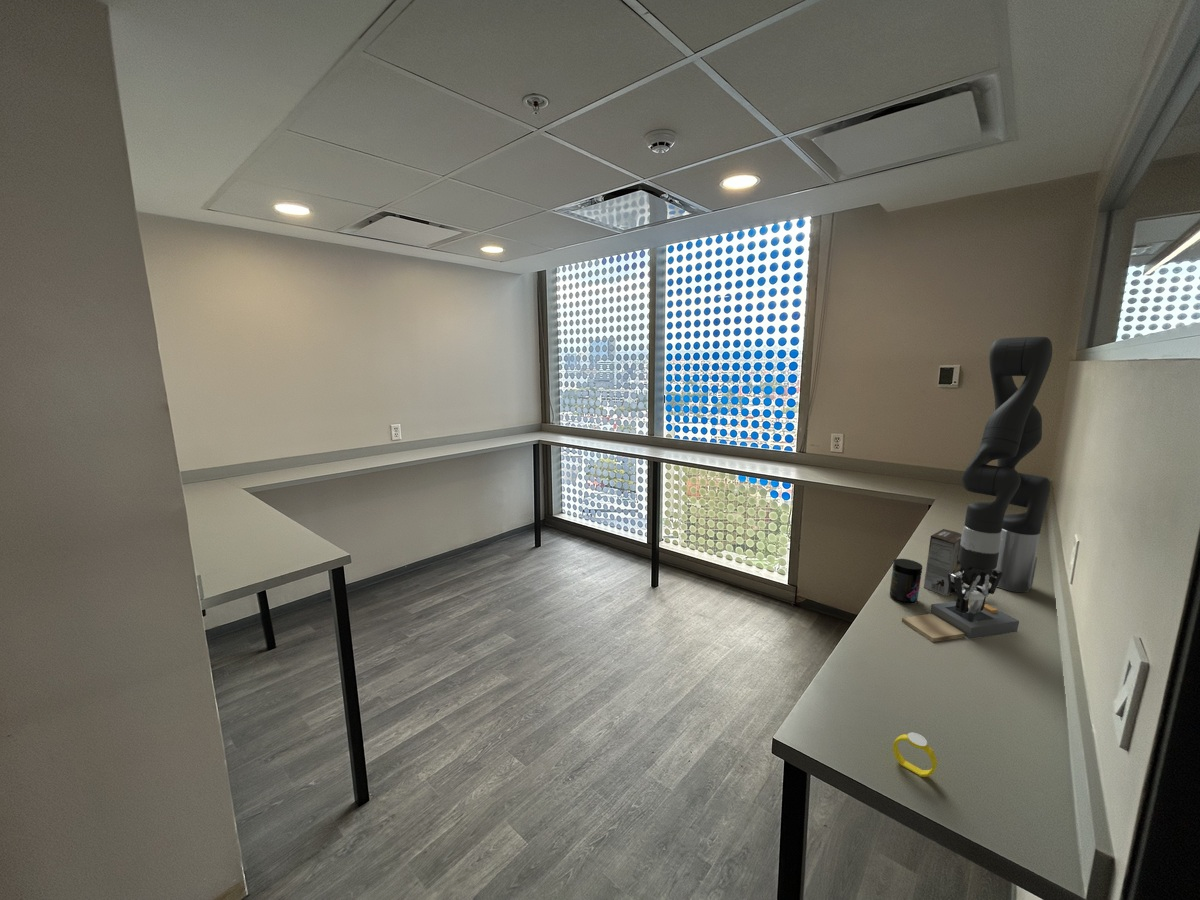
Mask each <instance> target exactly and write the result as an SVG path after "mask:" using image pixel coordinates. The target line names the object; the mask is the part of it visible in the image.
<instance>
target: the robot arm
mask: <svg viewBox="0 0 1200 900" xmlns="http://www.w3.org/2000/svg"><path fill="white" fill-rule="evenodd" d="M988 356H989V359H988V360H989V361H988V362H989V371H990V377H991V383H992V389H993V397H994V411H993V412H992V413H991V415H990V416H989V417H988V419H987V421H986V423H985V426H984V429H983V433H982V437H981V441H980V444H979V447H978V449H977V451H976V453H975V454H974V456H973V458H972V459H971V461H970V462H969V463H968V465H967V466H966V468H965V469H964V471H963V473H962V475H961V483H962V484H961V485H962V486H963V489H965V490H966V491H967V492H969V493H974V494H981V495H987V496H992V497H993V496H994V497H996V498H995V500H994V501H987V502H986V501H985V502H981V501H979V502H978V501H976V502H975V501H974V502H971V503H969V504H968V505H967V507H966V512H965V517H964V518H965V519H964V524H963V525H964V526H963V529H962V532H961V534H962V536H961V542H960V548H959V555H958V560H959V562H960V563H961V567H960V569H959V570H958V572H957V573H955V574H952V573H949V574H948V582H949V591H950V595H952V596H954V597H956V600H955V601H956V606H955V607H956V610H958V611H959V612H961V613H966V611H967V605H968V597H969V595H970V593H971V592H973V591H974V589H975V591H979V592H980V593H982V594H983V595H984V597H985V598H984V601H983V604H982V607H981V609H980V611H982V610H983V608H984V605H985V603H986V599H987V597H988V596H989V595H994V594H995V592H996V589H997V588H1000V589H1003V590H1005V591H1010V592H1015V593H1027V592H1028V591H1030V589H1032V588H1033V583H1034V578H1035V573H1036V567H1037V562H1038V556H1037V552H1038V546H1039V540H1040V535H1041V530H1042V527H1043V522H1044V521H1043V520H1044V517H1045V513H1046V512H1045V511H1046V507H1047V505H1048V501H1049V498H1050V492H1051V481H1050V479H1049V478H1048V477H1045V476H1042V475H1036V474H1030V473H1024V472H1023V473H1022V472H1018V471H1017V470H1016V466H1017V465H1018V464H1019V462H1020V461H1021V460H1023V459H1024V458H1025V457H1027V455H1028V454H1030V453H1031V452H1032V451H1034V449H1035V448H1037V446H1038V445H1039V444H1040V442H1041V440H1042V437H1043V419H1042V414H1041V413H1040V412H1041V411H1039V409H1038V408H1037V407H1036V405H1034V404H1035V401H1036V398H1037V396H1038V394H1039V392H1040V389H1041V388H1042V385H1043V383H1044V380H1045V378H1046V376H1047V373H1048V371H1049V368H1050V365H1051V362H1052V356H1053V344H1052V341H1051V339H1050V338H1049V337H1046V336H1020V337H1004V338H999V339H996V340H995V341H994V342H993V343H992V344H991V346H990V351H989V355H988ZM1014 377H1024V379H1023V382H1022V383H1021V385H1020V386H1019V387H1017V385H1016V382H1015V381H1014ZM995 460H997V465H990V464H989V463H990V462H992V461H995ZM1009 505H1013V506H1017V507H1022V508H1026V511H1024V512H1023V513H1021V512H1020V513H1013V514H1009V513H1008V514H1006V511H1007V509H1008V507H1009ZM955 589H956V590H955ZM963 590H965V592H964V594H963V593H962V591H963Z"/></svg>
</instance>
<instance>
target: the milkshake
mask: <svg viewBox="0 0 1200 900" xmlns="http://www.w3.org/2000/svg"><path fill="white" fill-rule="evenodd" d="M964 592H965V589H963V590H962V593H963V594H964ZM984 598H985V597H984V595H983V594H982V593H980V592H979V591H975V589H974V591H973V592H971V593H970V595H969V597H968V605H967V611H966V613H961V612H960V616H961V617H962V618H964V619H966V620H968V621H969V622H976V621H977V618H978V615H979V612H980V609H981V607H982V604H983V601H984Z"/></svg>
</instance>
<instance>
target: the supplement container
mask: <svg viewBox="0 0 1200 900" xmlns="http://www.w3.org/2000/svg"><path fill="white" fill-rule="evenodd" d="M891 571H892V572H891V579H890V588H889V597H890V598H891V599H892V600H894V601H895V602H898V603H901V604H905V605H913V604H915V603H917V602H918V599H919V592H920V586H921V581H922V580H921V578H922V573H923V565H922V564H921V563H919V562H917V561H915V560H911V559H908V558H895V559H894V560H893V562H892V570H891Z"/></svg>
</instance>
